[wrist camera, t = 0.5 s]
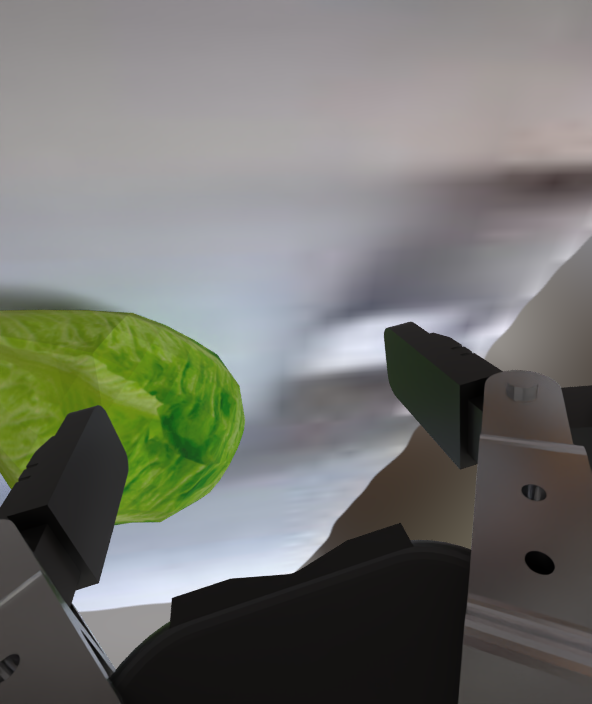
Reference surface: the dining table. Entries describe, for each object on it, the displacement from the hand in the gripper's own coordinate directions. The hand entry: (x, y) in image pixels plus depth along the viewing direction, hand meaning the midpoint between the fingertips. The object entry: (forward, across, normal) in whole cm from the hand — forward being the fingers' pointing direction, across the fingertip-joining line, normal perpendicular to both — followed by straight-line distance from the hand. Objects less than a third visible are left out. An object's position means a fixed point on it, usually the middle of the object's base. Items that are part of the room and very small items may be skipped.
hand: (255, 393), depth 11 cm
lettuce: (+23, +12, +6) cm, 27 cm away
